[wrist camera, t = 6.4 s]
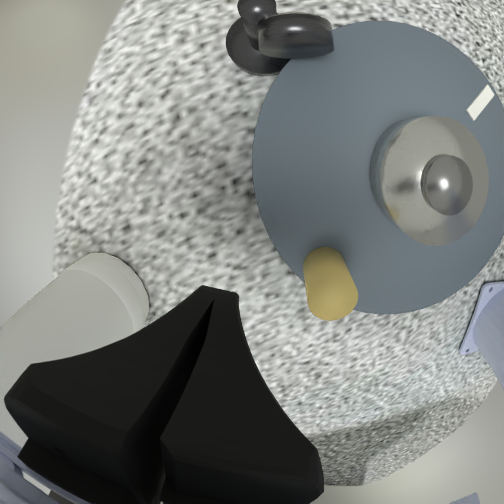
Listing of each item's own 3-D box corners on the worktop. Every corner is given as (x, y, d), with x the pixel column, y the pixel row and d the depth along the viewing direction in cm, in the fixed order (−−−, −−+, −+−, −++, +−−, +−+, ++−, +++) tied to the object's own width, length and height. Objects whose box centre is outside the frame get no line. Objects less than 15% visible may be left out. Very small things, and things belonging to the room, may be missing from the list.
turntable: (499, 63, 10) (543, 57, 6) (482, 291, 17) (514, 326, 13) (243, 24, 12) (229, -15, 8) (263, 307, 19) (258, 358, 15)
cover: (463, 124, 12) (498, 127, 9) (458, 228, 14) (487, 249, 11) (367, 112, 12) (390, 107, 9) (367, 230, 15) (386, 254, 12)
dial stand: (311, 15, 13) (326, -39, 6) (318, 74, 14) (341, 41, 8) (226, 19, 13) (198, -31, 7) (230, 78, 15) (201, 48, 9)
